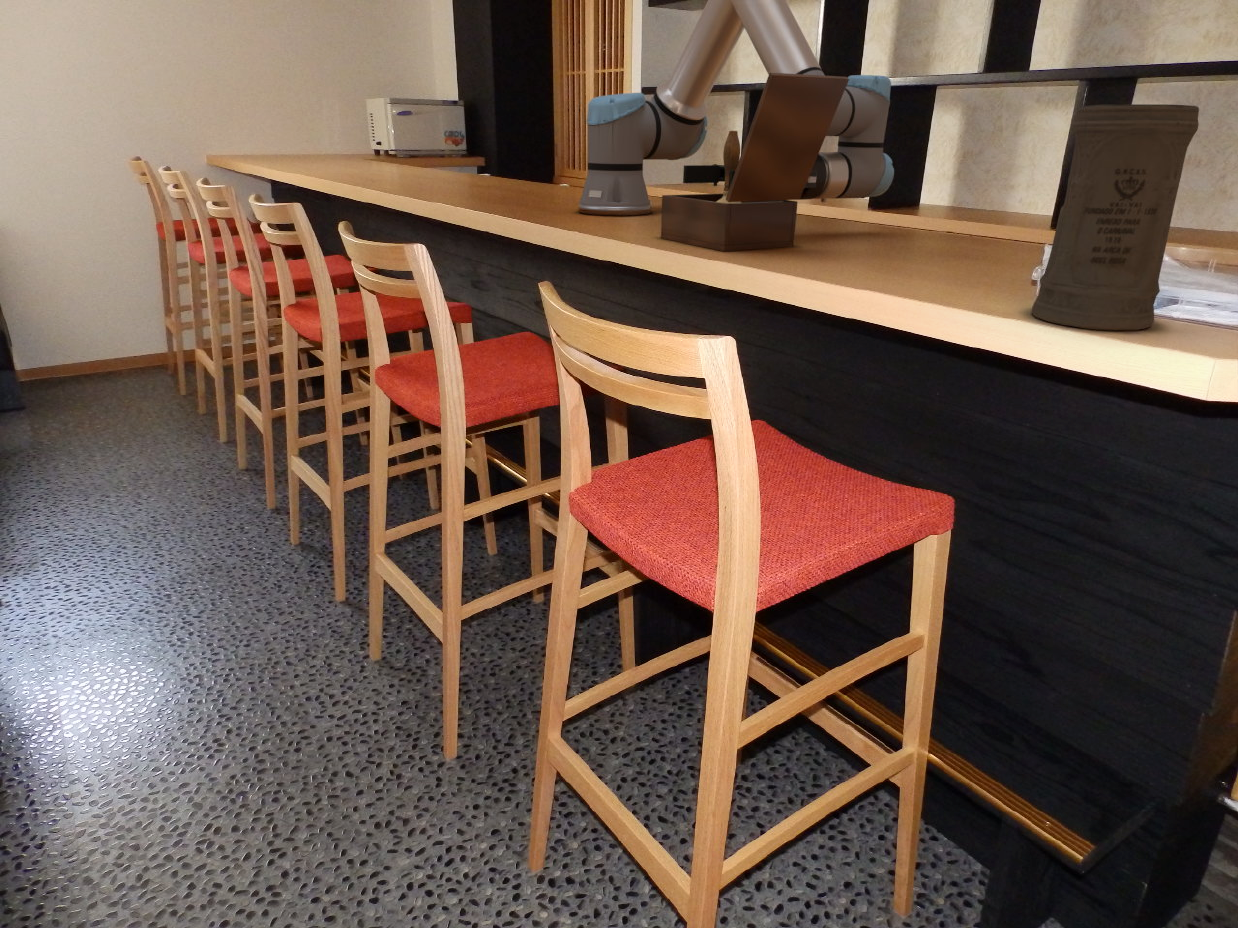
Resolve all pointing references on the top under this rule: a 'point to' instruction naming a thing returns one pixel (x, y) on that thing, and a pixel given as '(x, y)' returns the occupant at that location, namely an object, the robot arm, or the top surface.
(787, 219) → the chest
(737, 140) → the wooden handled brush
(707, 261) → the top surface
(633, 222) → the top surface
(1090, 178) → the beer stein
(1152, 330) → the top surface
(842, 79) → the chest lid
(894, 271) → the top surface
